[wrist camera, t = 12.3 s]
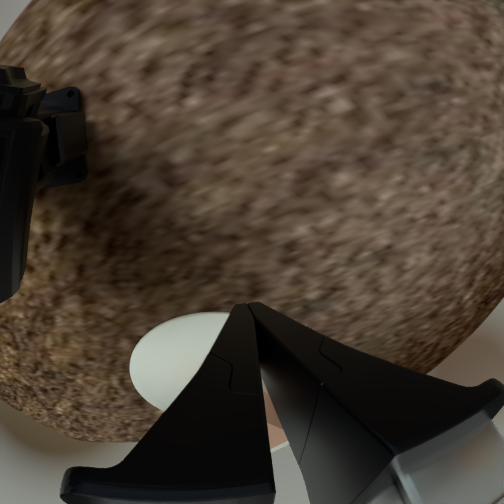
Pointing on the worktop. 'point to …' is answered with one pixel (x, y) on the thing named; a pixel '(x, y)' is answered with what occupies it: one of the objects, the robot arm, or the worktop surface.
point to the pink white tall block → (274, 426)
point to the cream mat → (173, 355)
